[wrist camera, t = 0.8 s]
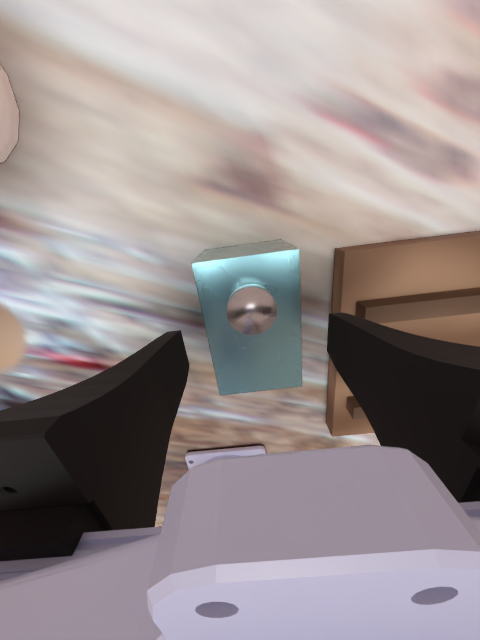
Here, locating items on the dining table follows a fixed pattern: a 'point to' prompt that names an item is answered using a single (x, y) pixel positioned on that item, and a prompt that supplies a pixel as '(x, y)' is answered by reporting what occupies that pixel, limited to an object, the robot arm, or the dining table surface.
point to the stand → (405, 301)
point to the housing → (252, 315)
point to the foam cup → (7, 117)
